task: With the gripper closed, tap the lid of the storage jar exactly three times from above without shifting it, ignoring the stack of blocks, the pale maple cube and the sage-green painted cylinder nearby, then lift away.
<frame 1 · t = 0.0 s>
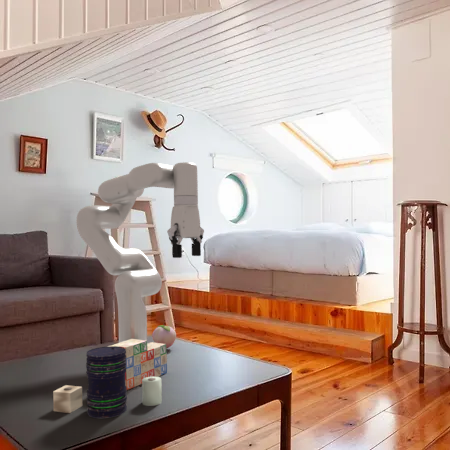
hand: (187, 256, 146), 37 cm above the table, tool pointing down, fingers open, 9 cm apart
decorative fruit: (165, 350, 177), on the table
sage cylinder: (152, 402, 122), on the table
maple cube: (68, 408, 119), on the table
storage jar: (107, 411, 117), on the table
stack of blocks: (136, 382, 140), on the table
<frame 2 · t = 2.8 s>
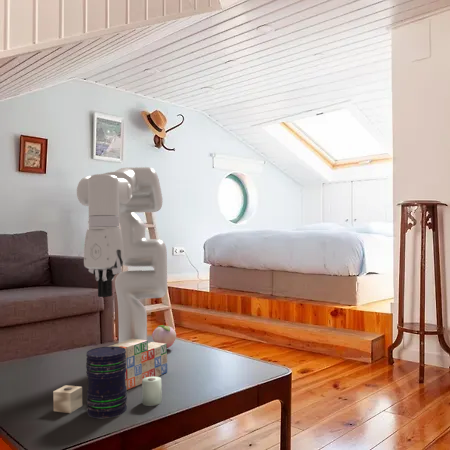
hand: (105, 296, 117), 29 cm above the table, tool pointing down, fingers closed
nothing on the table moved.
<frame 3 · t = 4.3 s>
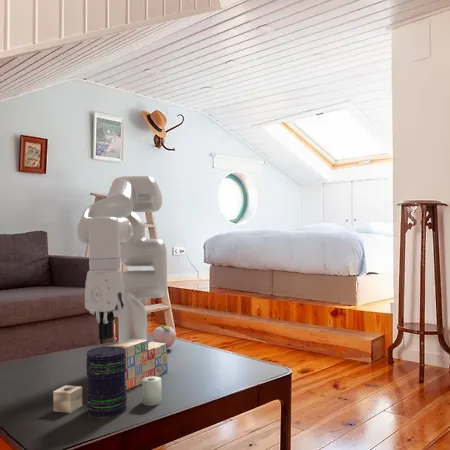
hand: (106, 338, 117), 18 cm above the table, tool pointing down, fingers closed
nothing on the table moved.
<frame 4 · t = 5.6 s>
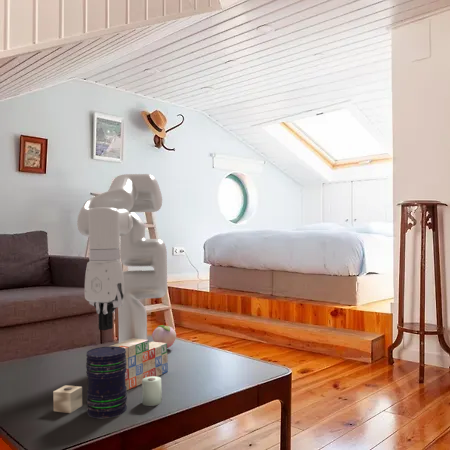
hand: (105, 329, 117), 20 cm above the table, tool pointing down, fingers closed
nothing on the table moved.
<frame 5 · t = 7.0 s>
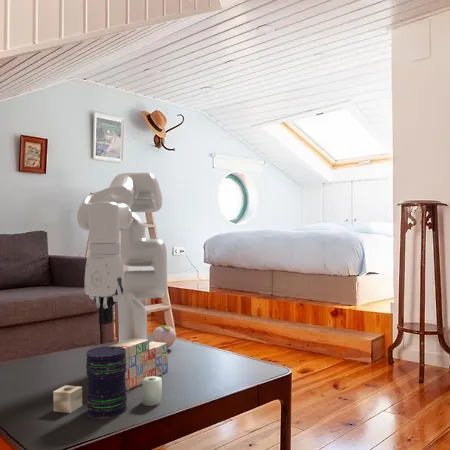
hand: (105, 323, 117), 22 cm above the table, tool pointing down, fingers closed
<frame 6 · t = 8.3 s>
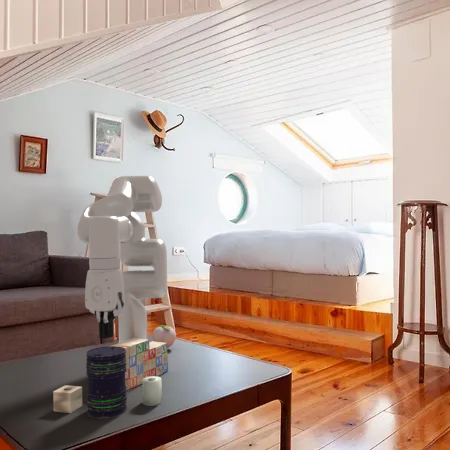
hand: (106, 337, 118), 18 cm above the table, tool pointing down, fingers closed
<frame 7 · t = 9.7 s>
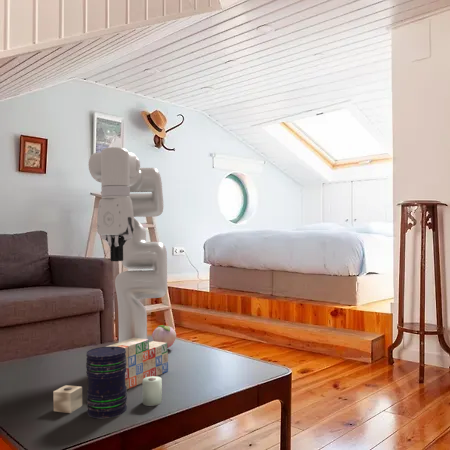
hand: (116, 260, 126), 37 cm above the table, tool pointing down, fingers closed
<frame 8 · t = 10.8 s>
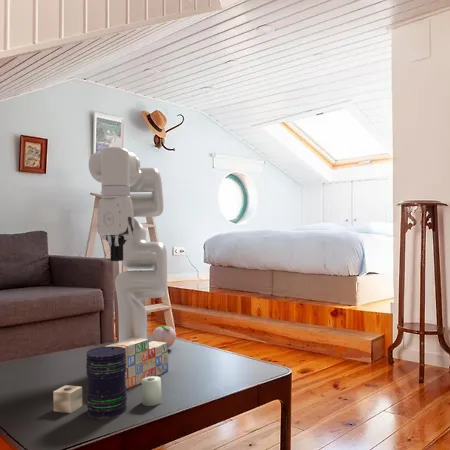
hand: (117, 260, 126), 37 cm above the table, tool pointing down, fingers closed
at the end: storage jar moved 0.2 cm from its start; storage jar tilted 0°; storage jar 0.0 cm from the target spot, on the table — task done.
